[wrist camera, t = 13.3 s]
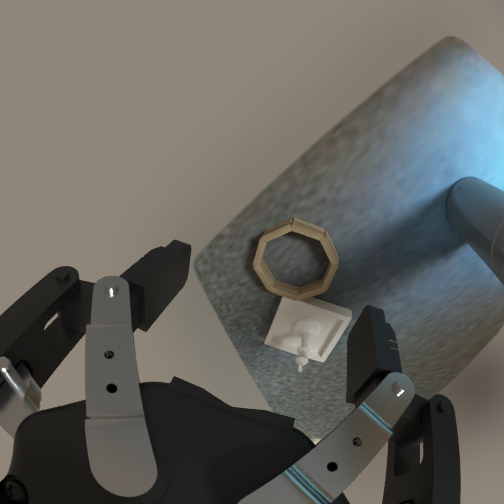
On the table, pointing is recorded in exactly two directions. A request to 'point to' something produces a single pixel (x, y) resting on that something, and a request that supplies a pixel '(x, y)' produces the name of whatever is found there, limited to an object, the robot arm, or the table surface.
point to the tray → (324, 312)
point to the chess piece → (305, 338)
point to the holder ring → (285, 288)
